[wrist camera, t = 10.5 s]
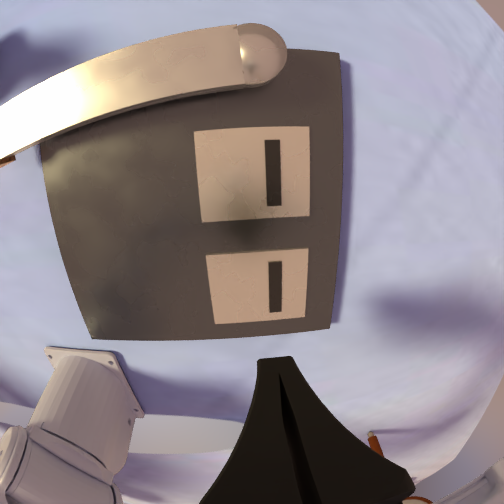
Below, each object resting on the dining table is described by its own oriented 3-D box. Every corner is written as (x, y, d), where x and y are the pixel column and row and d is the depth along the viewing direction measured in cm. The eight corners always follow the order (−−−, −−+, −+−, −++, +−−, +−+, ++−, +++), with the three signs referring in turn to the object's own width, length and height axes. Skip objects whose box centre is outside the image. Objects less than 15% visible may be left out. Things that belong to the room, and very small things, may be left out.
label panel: (326, 320, 21) (333, 336, 19) (96, 331, 20) (88, 346, 18) (333, 56, 13) (345, 49, 11) (45, 94, 12) (29, 93, 11)
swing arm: (1, 167, 12) (-19, 174, 10) (-6, 116, 11) (-25, 119, 9) (284, 91, 12) (293, 85, 11) (275, 28, 11) (282, 14, 9)
